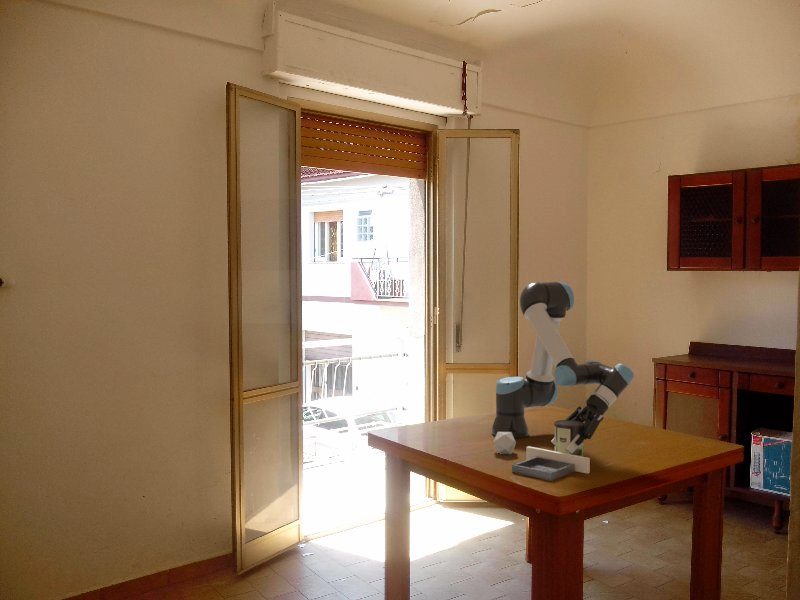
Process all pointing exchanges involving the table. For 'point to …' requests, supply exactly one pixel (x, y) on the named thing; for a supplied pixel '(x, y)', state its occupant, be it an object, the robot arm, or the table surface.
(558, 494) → the table surface
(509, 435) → the die
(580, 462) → the board
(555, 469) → the grey square tray
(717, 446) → the table surface
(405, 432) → the table surface
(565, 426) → the coffee can
